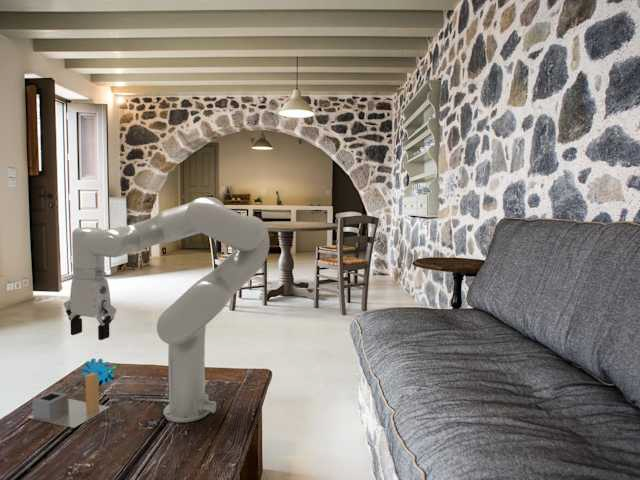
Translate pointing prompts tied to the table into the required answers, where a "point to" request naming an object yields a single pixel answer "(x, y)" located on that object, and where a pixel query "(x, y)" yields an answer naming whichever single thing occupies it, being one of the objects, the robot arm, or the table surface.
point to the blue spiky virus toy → (99, 370)
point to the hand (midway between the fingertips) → (90, 336)
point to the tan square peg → (92, 392)
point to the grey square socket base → (61, 410)
